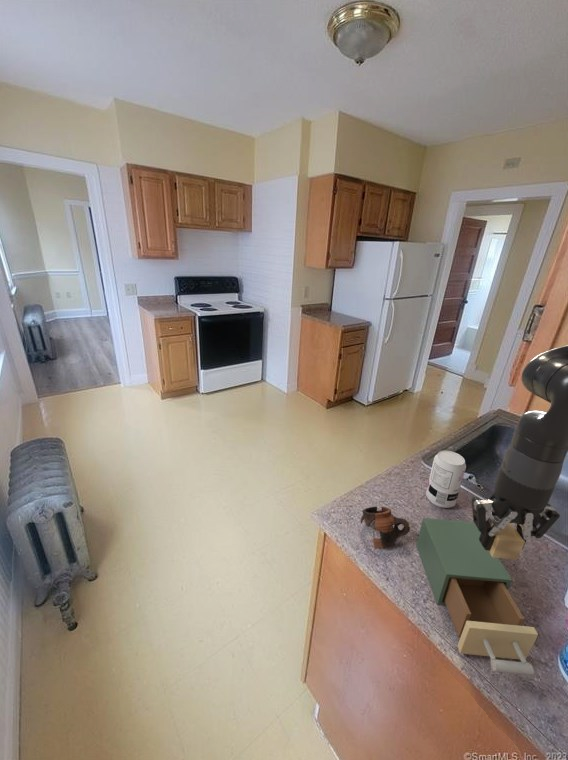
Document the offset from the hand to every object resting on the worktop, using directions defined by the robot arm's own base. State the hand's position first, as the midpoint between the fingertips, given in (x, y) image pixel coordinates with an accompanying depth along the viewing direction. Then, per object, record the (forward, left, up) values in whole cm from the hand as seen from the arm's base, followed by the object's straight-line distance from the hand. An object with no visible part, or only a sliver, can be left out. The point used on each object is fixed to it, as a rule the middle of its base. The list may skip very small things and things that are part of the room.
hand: (499, 547), depth 60 cm
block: (0, 0, 0) cm, 0 cm away
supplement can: (-5, -33, -18) cm, 37 cm away
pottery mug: (+15, -18, -18) cm, 29 cm away
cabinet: (+1, -8, -18) cm, 19 cm away
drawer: (+1, +4, -17) cm, 17 cm away
